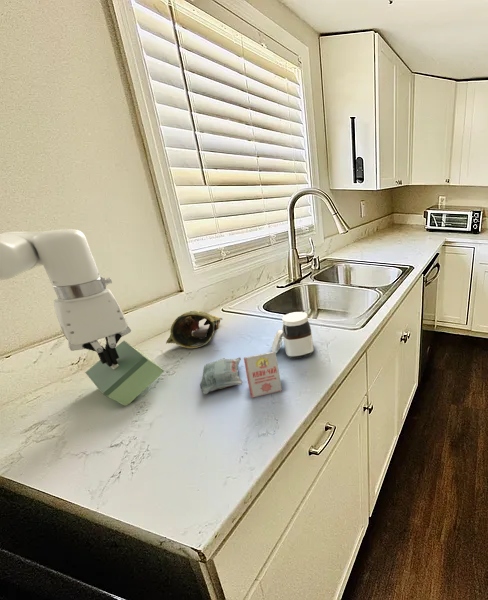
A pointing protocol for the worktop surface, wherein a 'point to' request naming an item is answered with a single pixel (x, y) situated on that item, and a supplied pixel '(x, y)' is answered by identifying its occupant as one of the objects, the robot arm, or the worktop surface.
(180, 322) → the pot
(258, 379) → the cream red carton
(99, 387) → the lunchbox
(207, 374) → the packaged food
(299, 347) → the spread jar
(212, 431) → the worktop surface
